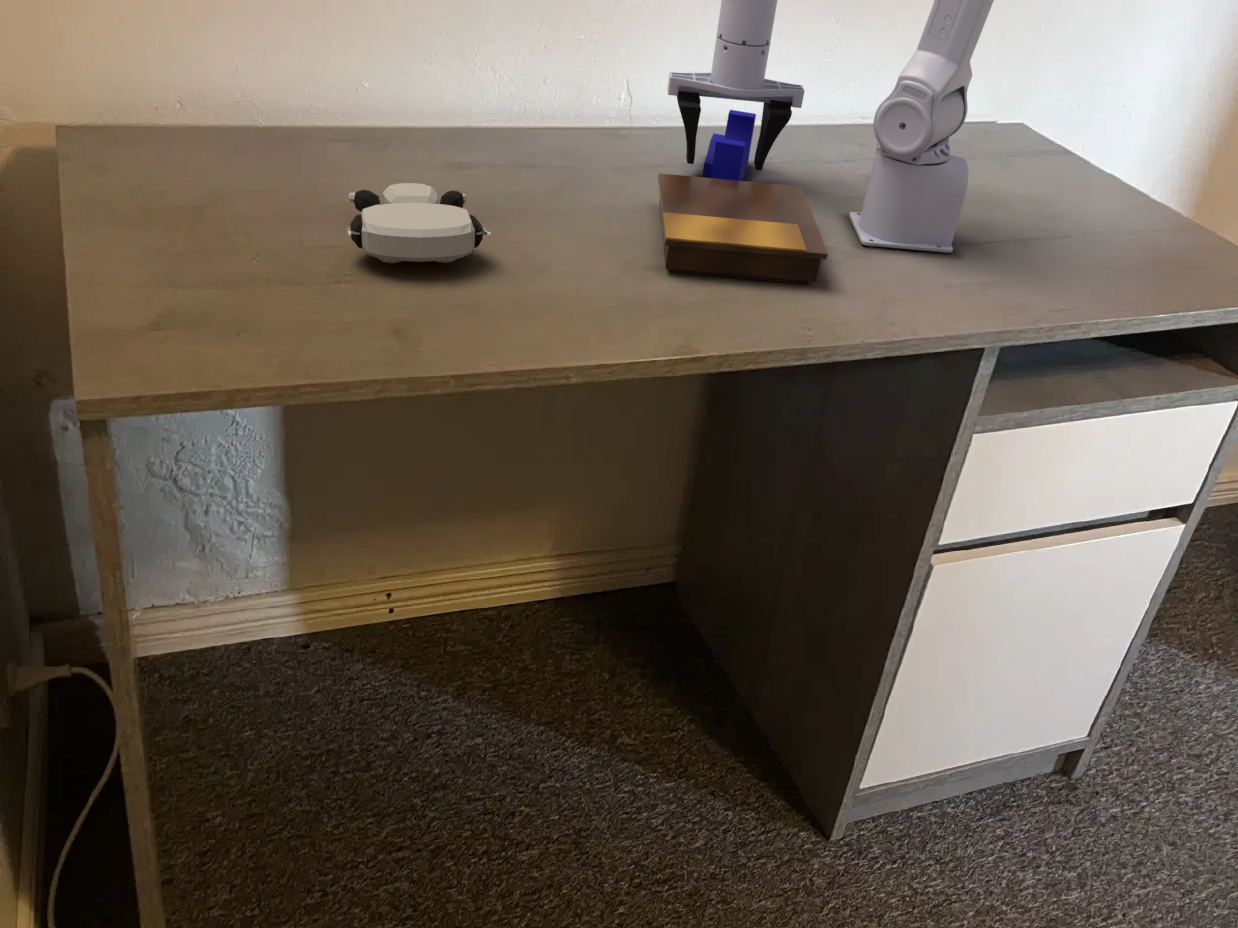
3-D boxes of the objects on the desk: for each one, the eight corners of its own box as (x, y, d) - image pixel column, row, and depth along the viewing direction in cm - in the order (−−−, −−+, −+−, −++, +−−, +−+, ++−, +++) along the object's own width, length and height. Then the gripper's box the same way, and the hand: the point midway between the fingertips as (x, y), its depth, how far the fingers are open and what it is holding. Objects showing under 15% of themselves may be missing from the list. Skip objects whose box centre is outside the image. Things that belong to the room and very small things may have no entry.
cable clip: (709, 158, 134) (717, 107, 130) (747, 165, 133) (756, 114, 130) (694, 193, 124) (702, 139, 121) (735, 200, 123) (744, 146, 120)
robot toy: (343, 221, 111) (349, 279, 98) (342, 175, 108) (347, 228, 96) (470, 222, 114) (491, 277, 101) (471, 177, 111) (492, 228, 99)
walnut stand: (795, 219, 121) (802, 184, 119) (820, 289, 107) (828, 252, 105) (654, 206, 120) (658, 171, 118) (660, 275, 106) (665, 237, 104)
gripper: (805, 36, 124) (783, 157, 131) (673, 22, 123) (658, 145, 130) (815, 53, 118) (791, 180, 126) (676, 39, 117) (660, 167, 125)
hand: (723, 164), depth 128 cm, fingers open, 7 cm apart
